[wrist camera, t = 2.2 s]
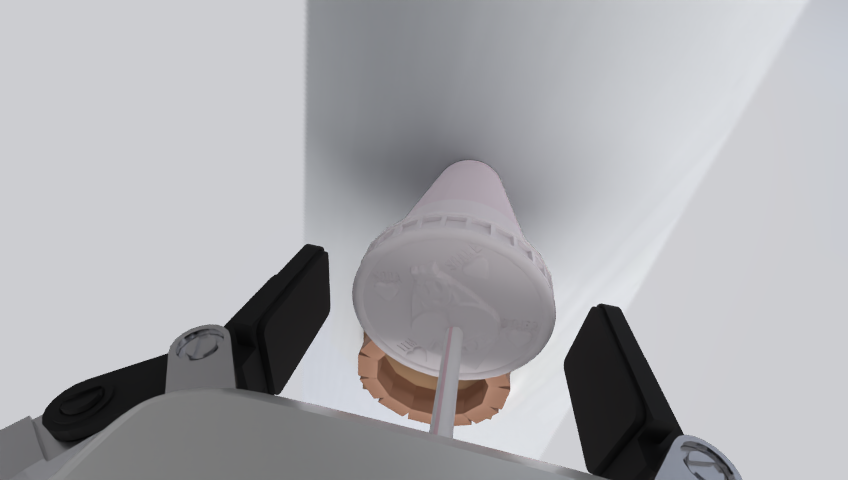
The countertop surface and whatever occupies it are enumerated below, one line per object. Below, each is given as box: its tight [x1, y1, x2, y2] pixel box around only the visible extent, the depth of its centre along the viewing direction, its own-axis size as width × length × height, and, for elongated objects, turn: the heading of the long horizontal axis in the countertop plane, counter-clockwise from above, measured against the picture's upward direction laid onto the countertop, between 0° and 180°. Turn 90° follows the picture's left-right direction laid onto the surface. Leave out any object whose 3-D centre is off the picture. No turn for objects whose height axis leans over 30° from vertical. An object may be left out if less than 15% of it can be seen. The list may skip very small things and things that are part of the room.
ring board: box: [358, 331, 510, 426], centre depth 24 cm, size 12×11×3 cm
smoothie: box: [352, 160, 556, 438], centre depth 12 cm, size 6×6×14 cm
